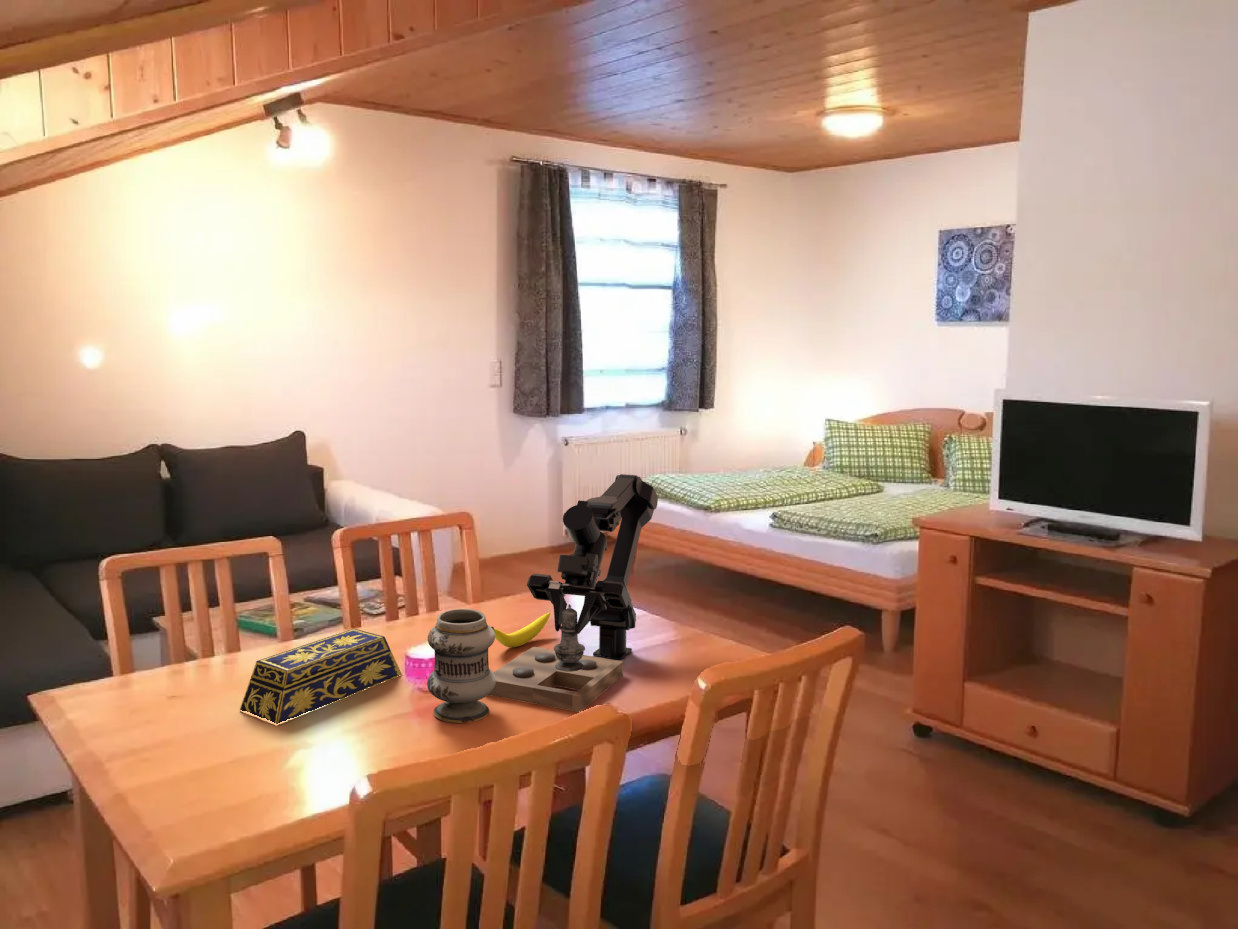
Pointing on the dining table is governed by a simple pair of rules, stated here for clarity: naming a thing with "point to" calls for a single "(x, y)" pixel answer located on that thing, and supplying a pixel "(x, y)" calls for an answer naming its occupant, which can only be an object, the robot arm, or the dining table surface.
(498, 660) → the dining table surface
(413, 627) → the dining table surface
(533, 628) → the banana
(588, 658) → the brown peg board
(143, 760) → the dining table surface
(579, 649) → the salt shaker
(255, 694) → the decorative box
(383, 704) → the dining table surface
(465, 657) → the apothecary jar
